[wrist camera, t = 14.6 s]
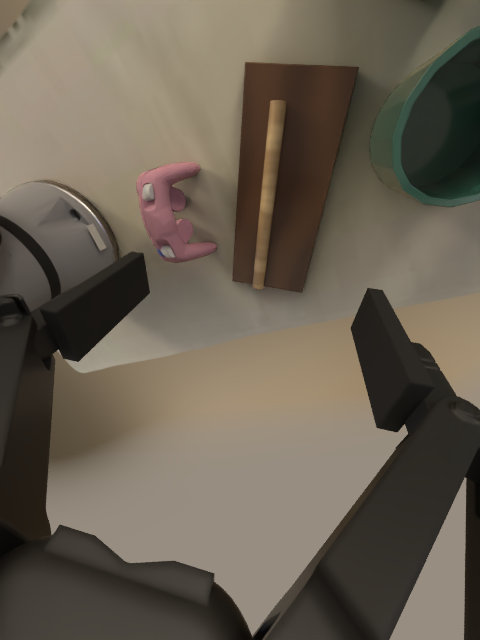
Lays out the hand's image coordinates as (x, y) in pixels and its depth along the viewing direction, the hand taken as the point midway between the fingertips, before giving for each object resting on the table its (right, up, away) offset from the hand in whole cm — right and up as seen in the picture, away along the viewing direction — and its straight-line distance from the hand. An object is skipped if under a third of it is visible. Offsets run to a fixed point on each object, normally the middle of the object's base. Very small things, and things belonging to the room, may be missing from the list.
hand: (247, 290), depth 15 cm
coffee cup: (+16, +14, +6) cm, 22 cm away
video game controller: (-6, +11, +15) cm, 19 cm away
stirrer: (+2, +9, +11) cm, 15 cm away
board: (+4, +11, +12) cm, 16 cm away
